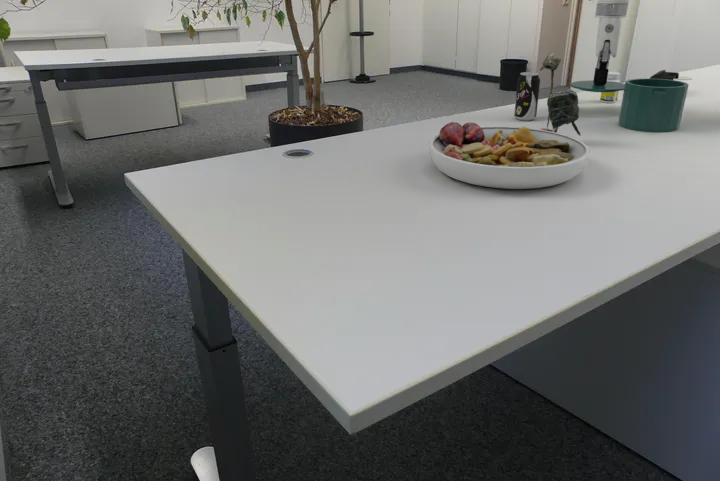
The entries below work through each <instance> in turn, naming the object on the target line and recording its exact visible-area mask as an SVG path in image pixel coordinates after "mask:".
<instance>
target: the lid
mask: <svg viewBox="0 0 720 481" xmlns="http://www.w3.org/2000/svg"><path fill="white" fill-rule="evenodd" d="M593 80H594V79H593ZM593 80H578V81H573V82H570V87H571V88H573V89H577V90H580V91H584V92H591V93H601V92H616V91H619V92H620V91H624V87H625V83H623V82H620V83H619V82H612V81H607V83H606V85H594V82H593Z"/></svg>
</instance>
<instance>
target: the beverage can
mask: <svg viewBox="0 0 720 481" xmlns="http://www.w3.org/2000/svg"><path fill="white" fill-rule="evenodd" d="M539 75H540V74H539V72H535V71H523V72H520V75H519V77H518V78H517V80H516V81H517V82H516V92H515V102H514V112H513V116H514V118H515V119H516V120H518V121H525V122H526V121H532V120H534V119H536V118H537V115H538V114H537V113H538V103H539V97H540V96H539V95H540V86H541V78H540V76H539Z"/></svg>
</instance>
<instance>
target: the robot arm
mask: <svg viewBox="0 0 720 481" xmlns="http://www.w3.org/2000/svg"><path fill="white" fill-rule="evenodd" d="M596 1H597V2H596V8H595V12H594V13H595V14H594V18H599V20H598V27H597V34H596V42H595V56H596V57H597V61H596V67H595V68H594V75H593V82H594V85H606V83H607V77H608V72H610V71H609V64H610V60H611V57H612V58H617V54H618V47H619V40H620V34H621V28H622V19H623V18H627V14H628V9H629V8H628V7H629V3H630V2H629V1H630V0H596Z"/></svg>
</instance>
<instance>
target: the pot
mask: <svg viewBox="0 0 720 481" xmlns="http://www.w3.org/2000/svg"><path fill="white" fill-rule="evenodd" d="M649 78H650V77H649ZM649 78H633V79H627V80H625V83H624V84H625V87H624V90H623V93H622V100H621V103H620V104H621V105H620V110H619V115H618V126H620V127H622V128H624V129H628V130H632V131H639V132H645V133H647V132H648V133H669V132H675V131H677V130H678V129H679V127H680V125H681V122H682V116H683V113H684V108H685V102H686V100H687V94H688V90H689V87H690V86H689V84H688V82H684V81H680V80H677V79H674V80H668V79H649Z"/></svg>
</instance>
